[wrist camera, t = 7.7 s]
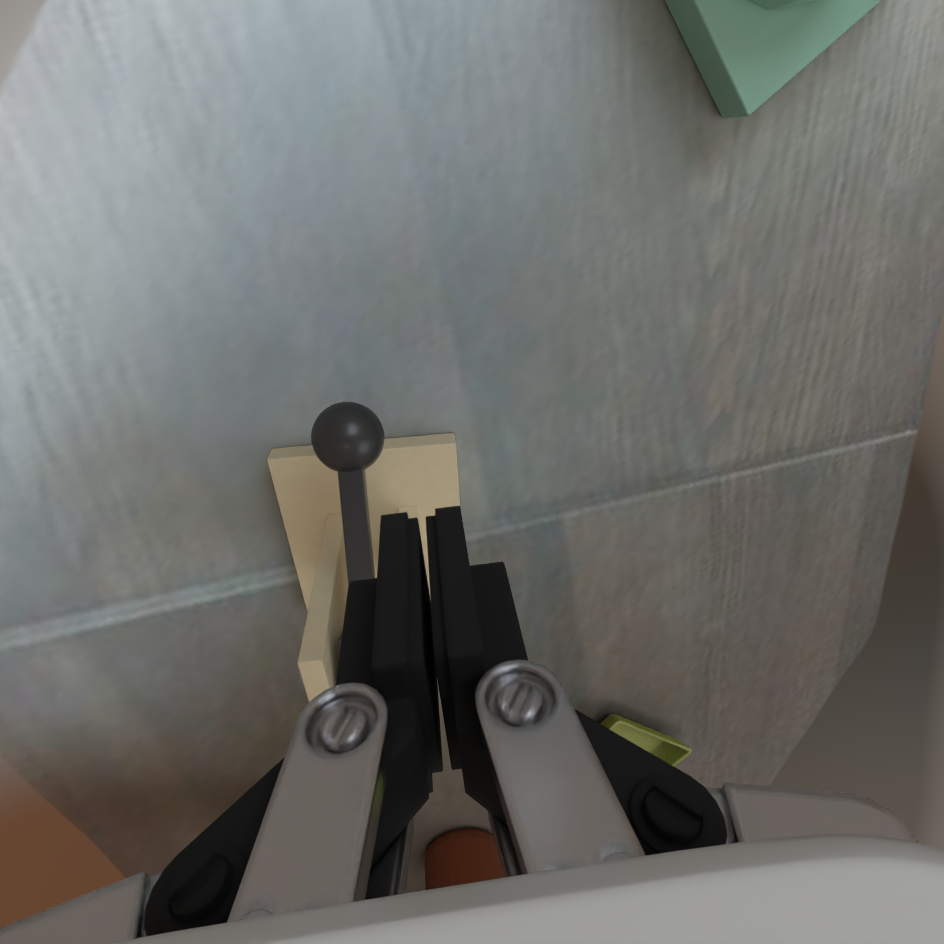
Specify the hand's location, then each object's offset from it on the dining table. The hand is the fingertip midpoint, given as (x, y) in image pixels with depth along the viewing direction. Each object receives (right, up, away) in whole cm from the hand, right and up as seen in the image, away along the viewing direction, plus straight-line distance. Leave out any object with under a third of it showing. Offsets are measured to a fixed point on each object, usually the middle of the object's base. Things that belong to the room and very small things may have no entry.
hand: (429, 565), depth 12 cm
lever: (-4, -1, +15) cm, 15 cm away
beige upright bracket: (-5, -1, +22) cm, 22 cm away
